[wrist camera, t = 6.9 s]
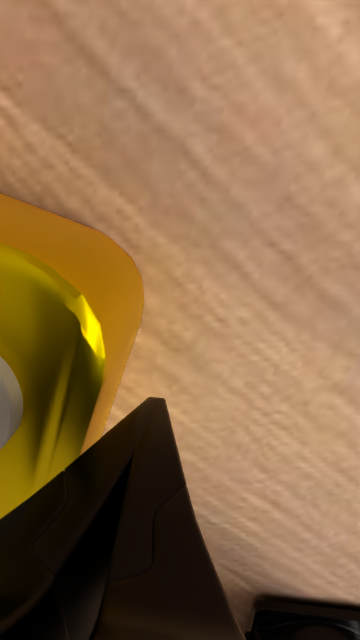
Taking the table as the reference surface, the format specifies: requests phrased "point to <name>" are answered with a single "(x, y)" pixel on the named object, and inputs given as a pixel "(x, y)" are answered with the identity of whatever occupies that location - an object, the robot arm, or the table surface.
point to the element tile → (58, 342)
